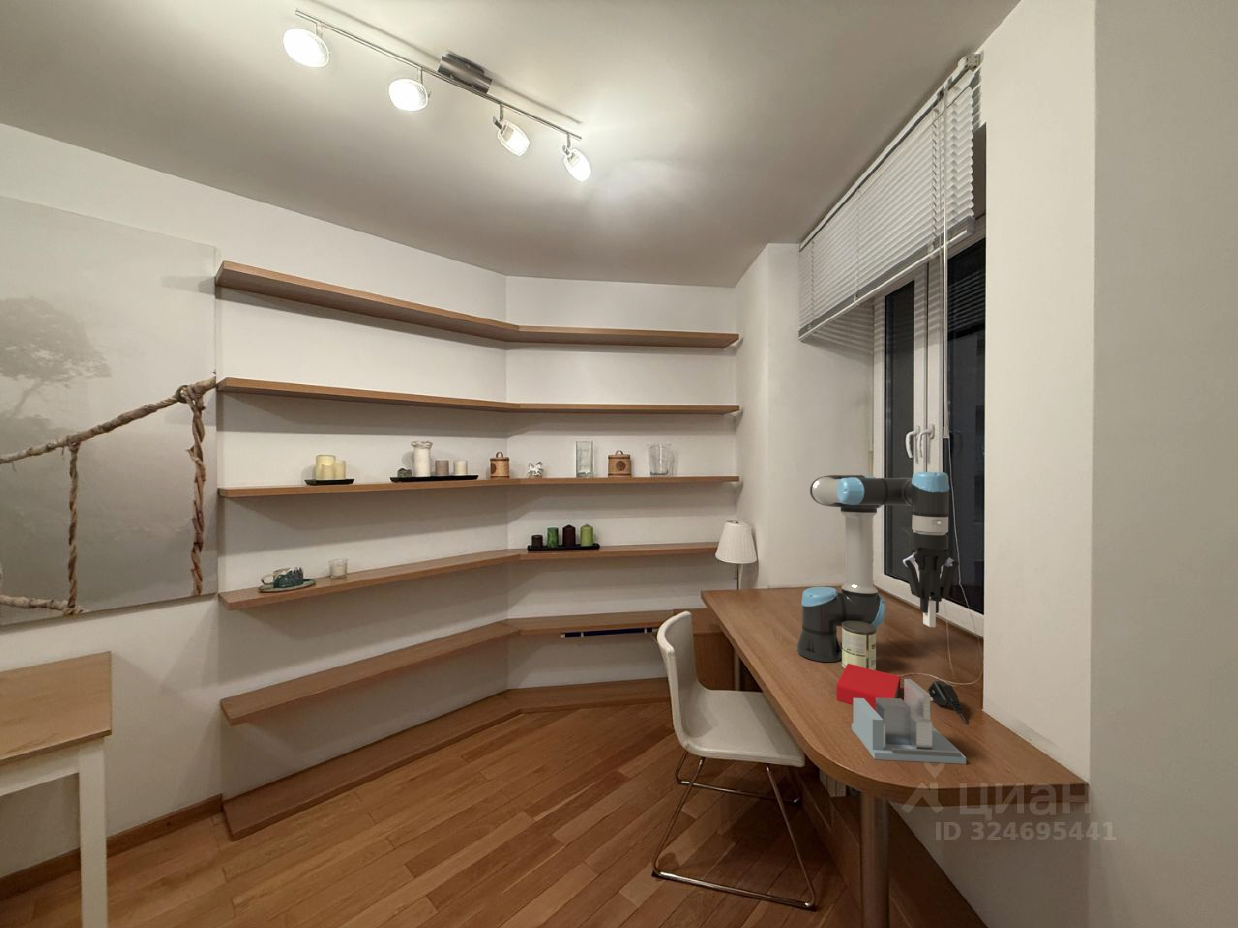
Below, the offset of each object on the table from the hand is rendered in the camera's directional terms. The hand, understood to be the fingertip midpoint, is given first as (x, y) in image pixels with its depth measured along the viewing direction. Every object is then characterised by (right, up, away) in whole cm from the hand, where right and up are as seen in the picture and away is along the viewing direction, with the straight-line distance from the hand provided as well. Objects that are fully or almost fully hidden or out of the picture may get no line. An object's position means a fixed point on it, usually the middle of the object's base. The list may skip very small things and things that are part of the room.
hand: (929, 625), depth 115 cm
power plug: (+12, -30, +5) cm, 33 cm away
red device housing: (-5, -28, +19) cm, 34 cm away
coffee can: (+2, -28, +37) cm, 46 cm away
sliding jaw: (-8, -25, -5) cm, 27 cm away
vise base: (-10, -27, -5) cm, 30 cm away
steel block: (-13, -26, -6) cm, 29 cm away
